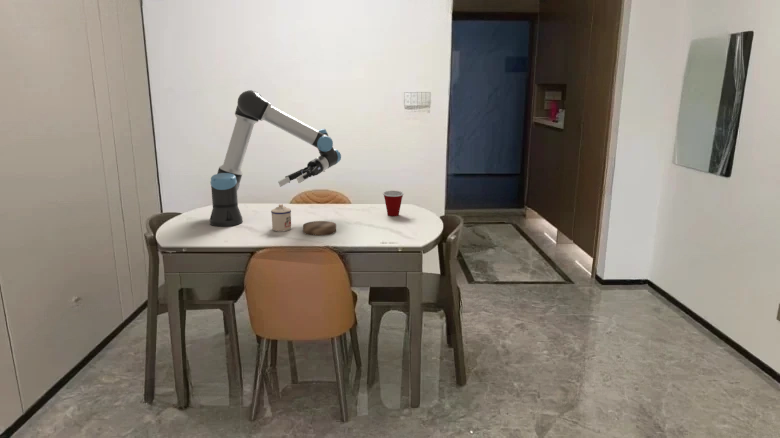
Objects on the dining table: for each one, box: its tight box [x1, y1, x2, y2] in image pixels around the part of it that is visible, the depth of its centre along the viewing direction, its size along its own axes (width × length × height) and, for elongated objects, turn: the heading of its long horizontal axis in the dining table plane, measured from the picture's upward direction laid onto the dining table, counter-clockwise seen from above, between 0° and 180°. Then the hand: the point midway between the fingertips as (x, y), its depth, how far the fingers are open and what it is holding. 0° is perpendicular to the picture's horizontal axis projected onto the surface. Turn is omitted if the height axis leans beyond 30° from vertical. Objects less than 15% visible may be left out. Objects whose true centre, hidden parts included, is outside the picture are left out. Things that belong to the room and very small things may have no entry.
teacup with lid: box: [270, 203, 292, 232], centre depth 250 cm, size 12×9×12 cm
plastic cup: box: [382, 190, 405, 217], centre depth 277 cm, size 11×11×12 cm
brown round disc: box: [302, 220, 337, 236], centre depth 246 cm, size 15×15×3 cm
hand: (288, 182), depth 256 cm, fingers open, 13 cm apart
